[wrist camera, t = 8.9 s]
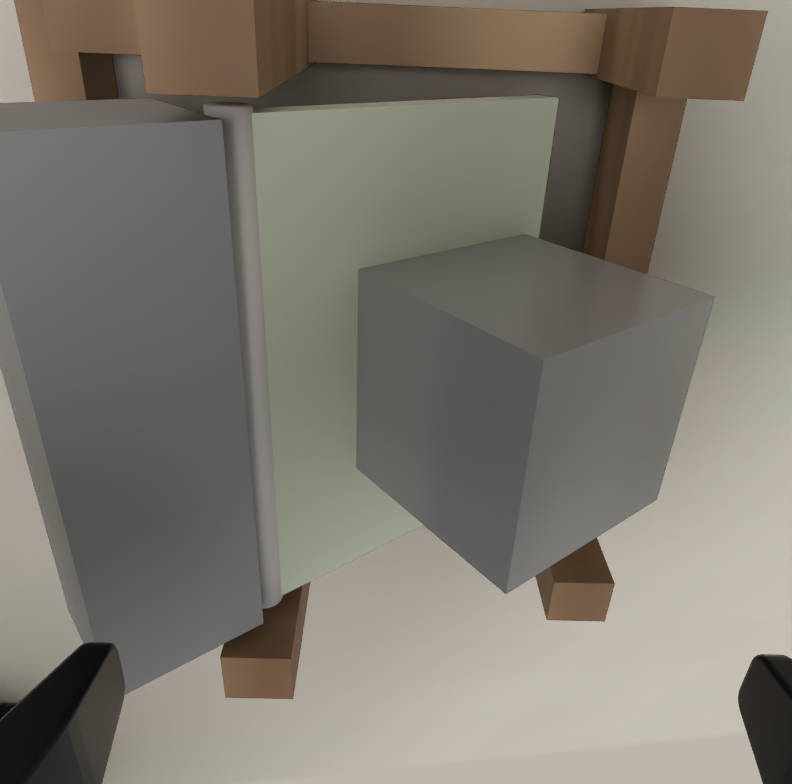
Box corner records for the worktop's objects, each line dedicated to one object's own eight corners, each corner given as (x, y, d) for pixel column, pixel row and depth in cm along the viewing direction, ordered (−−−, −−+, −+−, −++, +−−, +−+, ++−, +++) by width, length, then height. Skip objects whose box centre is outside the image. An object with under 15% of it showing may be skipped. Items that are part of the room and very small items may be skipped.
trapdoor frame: (140, 476, 23) (21, 693, 16) (51, -14, 16) (-241, -39, 9) (574, 487, 24) (658, 706, 16) (673, 13, 17) (904, 11, 9)
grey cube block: (501, 408, 19) (656, 499, 16) (356, 467, 16) (506, 593, 13) (524, 233, 17) (714, 296, 13) (358, 268, 14) (544, 359, 10)
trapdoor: (69, 613, 16) (111, 704, 14) (-75, 98, 10) (-41, 125, 8) (449, 450, 22) (514, 496, 20) (482, 82, 17) (577, 95, 15)
